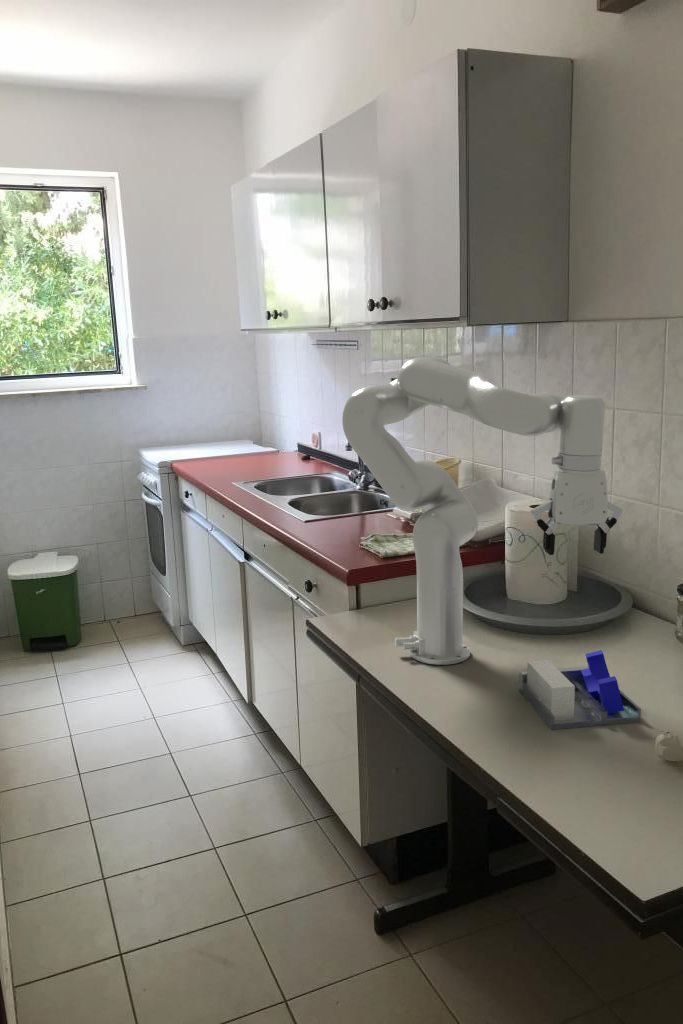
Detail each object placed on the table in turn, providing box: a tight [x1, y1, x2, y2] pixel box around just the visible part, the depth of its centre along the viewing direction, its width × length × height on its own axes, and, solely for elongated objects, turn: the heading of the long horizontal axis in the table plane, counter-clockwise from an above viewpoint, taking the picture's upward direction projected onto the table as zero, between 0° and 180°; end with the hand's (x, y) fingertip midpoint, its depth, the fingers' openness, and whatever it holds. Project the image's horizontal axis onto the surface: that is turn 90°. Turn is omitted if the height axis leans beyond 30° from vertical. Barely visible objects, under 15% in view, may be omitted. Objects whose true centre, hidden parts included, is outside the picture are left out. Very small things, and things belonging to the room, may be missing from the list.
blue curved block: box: [581, 649, 624, 714], centre depth 150 cm, size 12×4×6 cm, turn 175°
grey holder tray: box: [518, 659, 642, 731], centre depth 150 cm, size 16×16×7 cm
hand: (573, 552), depth 158 cm, fingers open, 9 cm apart
